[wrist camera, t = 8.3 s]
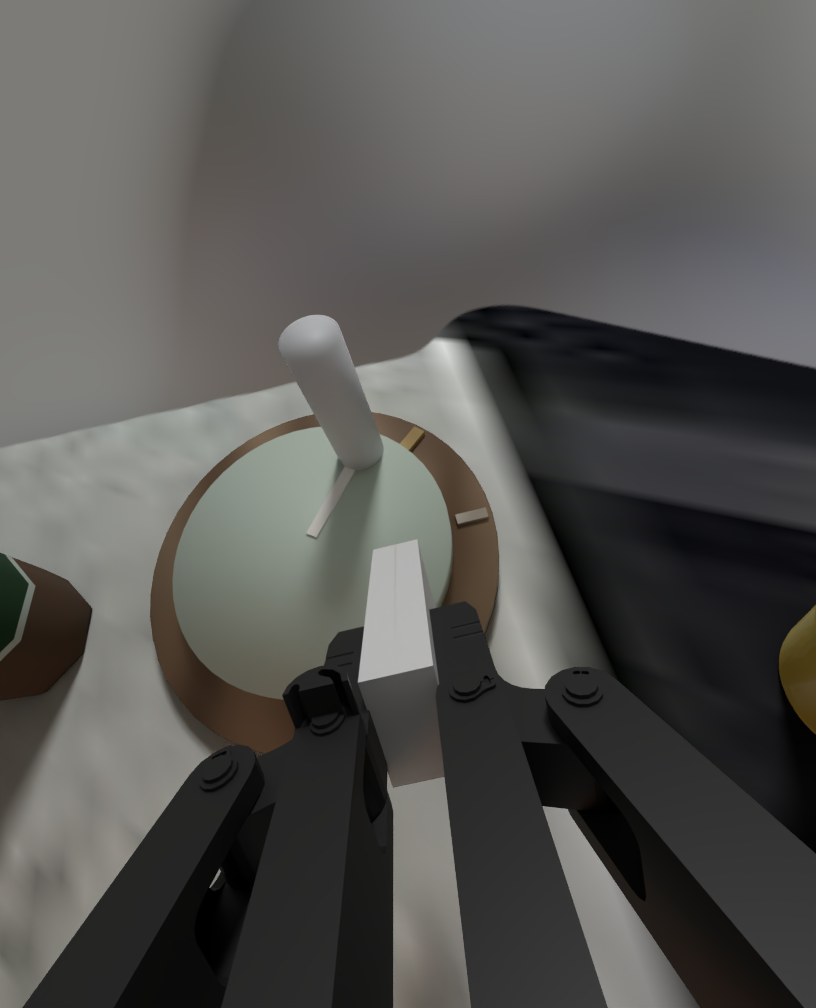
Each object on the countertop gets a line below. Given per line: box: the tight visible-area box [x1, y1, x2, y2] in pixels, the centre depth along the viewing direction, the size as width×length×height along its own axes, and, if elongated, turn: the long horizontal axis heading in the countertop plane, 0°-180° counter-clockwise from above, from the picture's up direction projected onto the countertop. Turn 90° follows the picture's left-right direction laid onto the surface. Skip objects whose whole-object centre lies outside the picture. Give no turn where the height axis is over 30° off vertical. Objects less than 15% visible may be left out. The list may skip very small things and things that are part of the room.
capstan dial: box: [172, 315, 453, 700], centre depth 23 cm, size 16×16×11 cm
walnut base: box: [150, 412, 499, 753], centre depth 28 cm, size 21×21×2 cm
